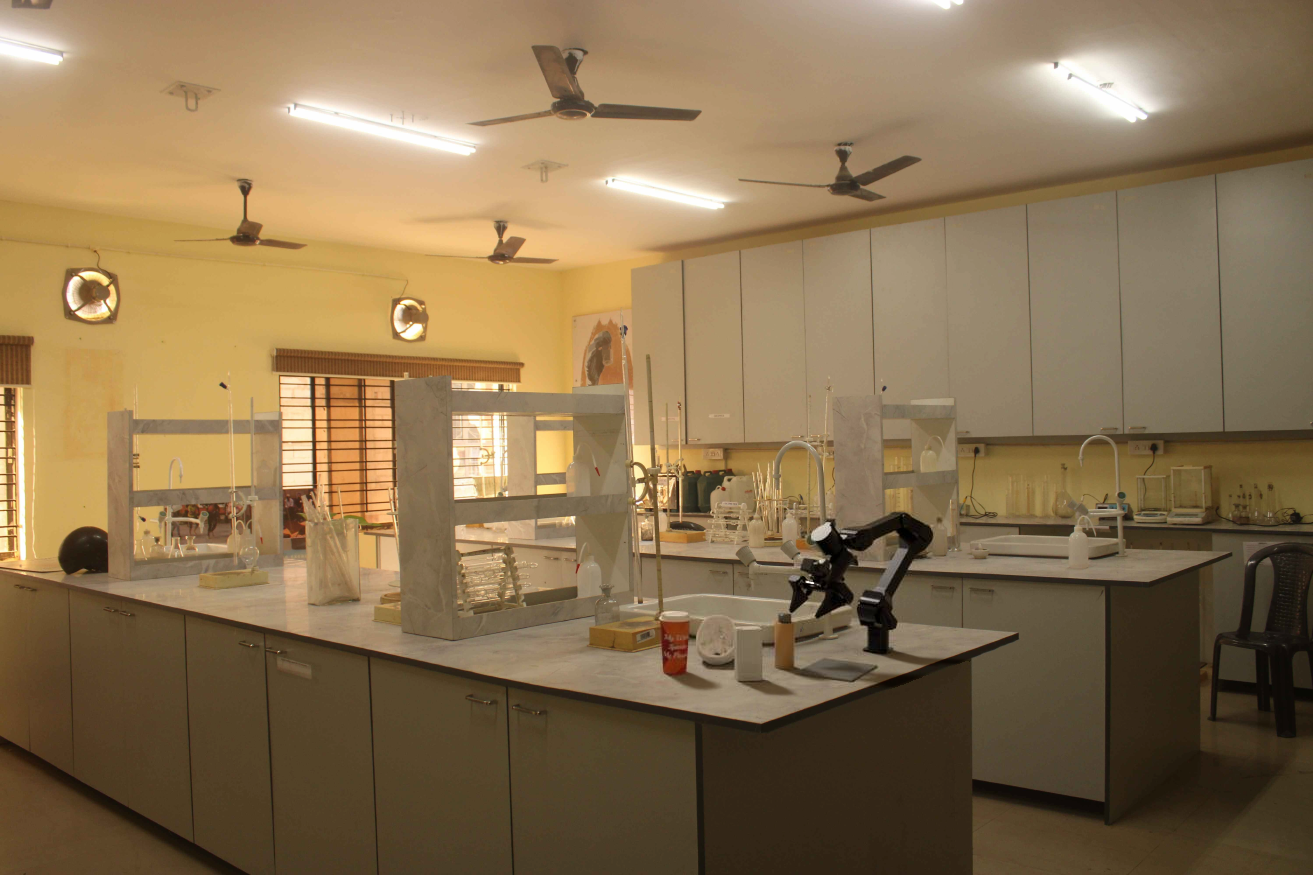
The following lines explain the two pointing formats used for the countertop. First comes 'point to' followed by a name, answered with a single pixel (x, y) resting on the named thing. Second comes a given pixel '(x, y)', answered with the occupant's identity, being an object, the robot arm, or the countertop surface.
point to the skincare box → (748, 653)
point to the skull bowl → (716, 640)
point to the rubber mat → (836, 669)
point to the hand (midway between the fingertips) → (802, 614)
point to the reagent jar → (784, 642)
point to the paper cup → (674, 641)
